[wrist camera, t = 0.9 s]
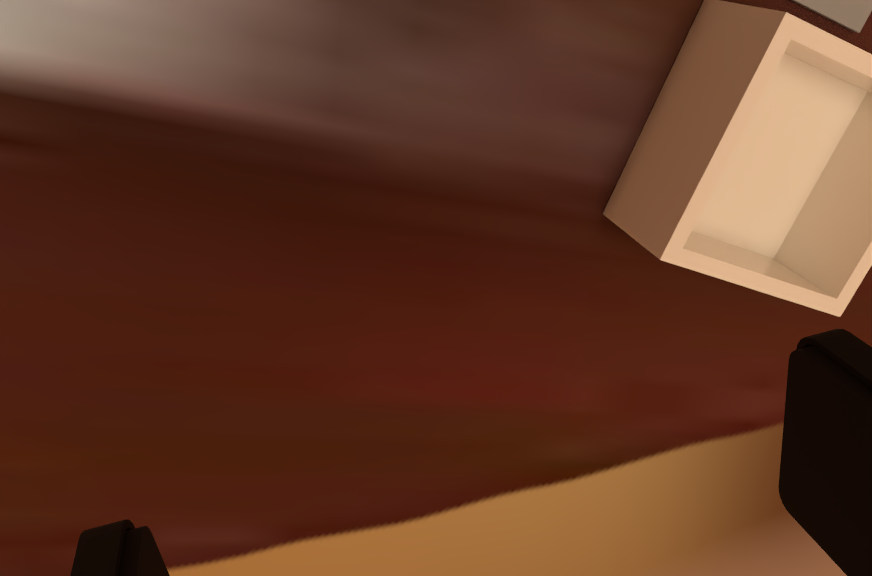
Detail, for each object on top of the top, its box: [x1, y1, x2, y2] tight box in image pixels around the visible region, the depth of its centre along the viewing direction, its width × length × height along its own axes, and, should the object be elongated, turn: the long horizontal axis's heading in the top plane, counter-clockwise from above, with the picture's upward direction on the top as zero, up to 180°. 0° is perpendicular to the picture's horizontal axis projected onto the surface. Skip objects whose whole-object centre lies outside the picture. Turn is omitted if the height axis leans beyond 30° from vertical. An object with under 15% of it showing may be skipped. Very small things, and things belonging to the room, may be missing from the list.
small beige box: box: [603, 0, 872, 317], centre depth 37 cm, size 11×11×6 cm
